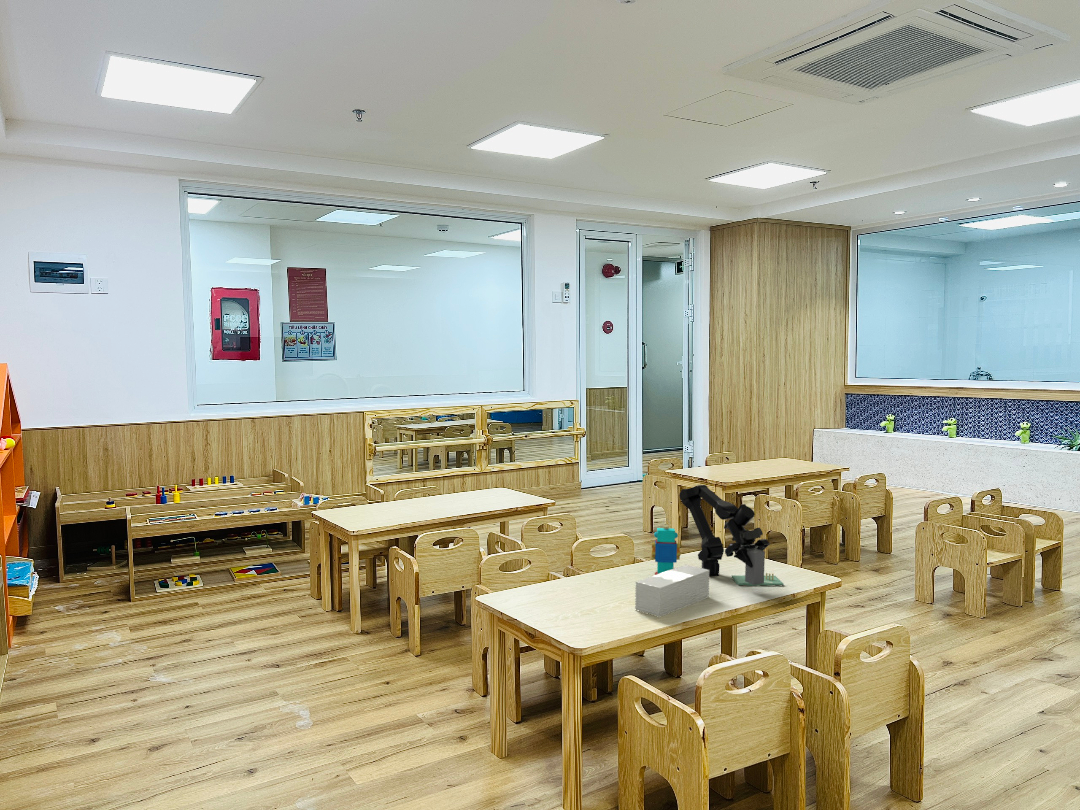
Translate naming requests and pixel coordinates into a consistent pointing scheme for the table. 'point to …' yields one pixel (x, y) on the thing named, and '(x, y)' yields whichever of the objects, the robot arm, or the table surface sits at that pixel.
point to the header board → (767, 581)
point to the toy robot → (665, 549)
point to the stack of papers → (671, 590)
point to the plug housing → (755, 567)
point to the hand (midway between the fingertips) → (757, 566)
